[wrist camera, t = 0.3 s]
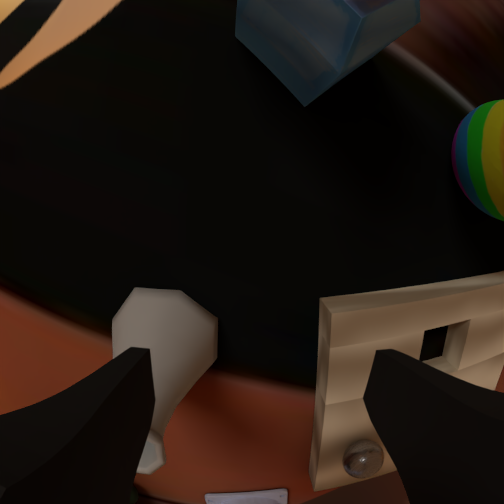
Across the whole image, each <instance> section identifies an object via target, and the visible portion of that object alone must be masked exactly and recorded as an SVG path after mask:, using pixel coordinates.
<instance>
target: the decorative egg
mask: <svg viewBox="0 0 504 504" xmlns="http://www.w3.org/2000/svg"><path fill="white" fill-rule="evenodd" d="M451 158H452V167H453V171H454V174H455V177H456V180H457V182H458V184H459V186H460V188H461V189H462V191H463V192H464V194H465V195H466V196H467V198H468V199H469V200H470V201H471V202H472V203H473V204H474V205H475V206H476V207H477V208H479V209H480V210H481V211H483V212H484V213H486V214H488V215H490V216H492V217H494V218H496V219H499V220H502V221H504V100H496V101H491V102H488V103H485V104H483V105H480V106H478V107H477V108H475V109H474V110H472V111H471V112H470V113H469V114H468V115H467V116H466V117H465V118H464V119H463V120H462V122H461V123H460V125H459V127H458V128H457V130H456V133H455V136H454V139H453V143H452V150H451Z"/></svg>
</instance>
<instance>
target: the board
mask: <svg viewBox="0 0 504 504" xmlns="http://www.w3.org/2000/svg"><path fill="white" fill-rule="evenodd" d="M446 325H449V326H448V331H447V336H446V341H445V345H444V349H443V354H442V356H440V357H437V358H433V359H430V360H426V361H423V362H424V363H426V364H428V365H430V366H432V367H434V368H436V369H438V370H441V371H443V372H445V373H447V374H449V375H452V376H454V377H456V378H459V379H461V380H464V381H466V382H469V383H472V384H474V385H477V386H480V387H484V388H487V389H490V390H495V387H496V385H497V382H498V379H499V376H500V374H501V371H502V368H503V365H504V271H501V272H496V273H490V274H485V275H479V276H474V277H468V278H462V279H456V280H450V281H444V282H438V283H431V284H425V285H418V286H411V287H404V288H397V289H390V290H383V291H375V292H367V293H359V294H351V295H342V296H333V297H324V298H320V307H319V341H318V364H317V382H316V397H315V411H314V423H313V435H312V445H311V455H310V464H309V476H310V479H311V483H312V486H313V490H314V492H315V491H320V490H325V489H330V488H335V487H339V486H343V485H348V484H352V483H355V482H359V481H363V480H367V479H370V478H374V477H377V476H380V475H384V474H387V473H390V472H393V471H396V470H397V468H396V466H395V465H394V463H393V461H392V459H391V457H390V456H389V454H388V452H387V450H386V448H385V446H384V445H383V443H382V441H381V439H380V437H379V436H378V434H377V432H376V430H375V428H374V426H373V424H372V422H371V420H370V418H369V415H368V412H367V410H366V407H365V404H364V401H363V396H364V392H365V389H366V385H367V382H368V379H369V375H370V371H371V368H372V364H373V360H374V356H375V352H376V350H382V349H394V350H397V351H400V352H402V353H404V354H407V355H409V356H411V357H413V358H415V359H417V360H419V357H420V352H421V347H422V342H423V336H424V331H425V330H429V329H434V328H438V327H442V326H446ZM359 440H372V441H375V442H377V443H378V444H379V445H380V446H381V447H382V449H383V451H384V462H383V465H382V467H381V468H380V470H379V471H378V472H377V473H375V474H374V475H372V476H370V477H367V478H354V477H352V476H350V475H349V474H347V473H346V471H345V470H344V468H343V464H342V458H343V455H344V452H345V451H346V449H347V448H348V447H349V446H350V445H351V444H353V443H354V442H357V441H359Z"/></svg>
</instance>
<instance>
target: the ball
mask: <svg viewBox="0 0 504 504" xmlns="http://www.w3.org/2000/svg"><path fill="white" fill-rule="evenodd" d="M383 462H384V451H383V449H382V447H381V446H380V445H379V444H378V443H377V442H375V441H372V440H359V441H357V442H354V443H353V444H351V445H350V446H349V447H348V448H347V449H346V451H345V452H344V455H343V458H342V464H343V468H344V470H345V471H346V473H347V474H349V475H350V476H352V477H354V478H367V477H370V476H372V475H374V474H375V473H377V472H378V471H379V470H380V468H381V467H382V465H383Z"/></svg>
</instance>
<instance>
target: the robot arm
mask: <svg viewBox="0 0 504 504" xmlns="http://www.w3.org/2000/svg"><path fill="white" fill-rule="evenodd" d="M155 401H156V398H155V391H154V382H153V373H152V364H151V354H150V348H139V347H130V348H128V349H127V350H125V351H124V352H122V353H121V354H119V355H118V356H117V357H115V358H114V359H112V360H111V361H109V362H108V363H107V364H105V365H104V366H102V367H101V368H99V369H98V370H96V371H95V372H93V373H92V374H90V375H89V376H87V377H86V378H84V379H82V380H81V381H79V382H77V383H76V384H74V385H72V386H71V387H69V388H67V389H65V390H64V391H62V392H60V393H58V394H56V395H54V396H52V397H50V398H47V399H45V400H43V401H41V402H38V403H36V404H33V405H30V406H27V407H25V408H22V409H19V410H15V411H12V412H9V413H6V414H2V415H0V504H129V503H130V496H131V490H132V486H133V482H134V478H135V475H136V472H137V469H138V465H139V462H140V459H141V456H142V453H143V450H144V447H145V444H146V440H147V437H148V434H149V431H150V428H151V424H152V418H153V413H154V407H155ZM363 401H364V404H365V407H366V410H367V412H368V415H369V418H370V420H371V422H372V424H373V426H374V428H375V430H376V432H377V434H378V436H379V437H380V439H381V441H382V443H383V445H384V446H385V448H386V450H387V452H388V454H389V456H390V457H391V459H392V461H393V463H394V465H395V466H396V468H397V471H398V472H399V475H400V477H401V479H402V482H403V485H404V488H405V490H406V493H407V496H408V498H409V502H410V504H504V393H502V392H498V391H494V390H490V389H487V388H484V387H480V386H477V385H474V384H472V383H469V382H466V381H464V380H461V379H459V378H456V377H454V376H452V375H449V374H447V373H445V372H443V371H441V370H438V369H436V368H434V367H432V366H430V365H428V364H426V363H424V362H422V361H420V360H417V359H415V358H413V357H411V356H409V355H407V354H404V353H402V352H400V351H397V350H394V349H382V350H376V352H375V356H374V360H373V364H372V368H371V371H370V375H369V379H368V382H367V385H366V389H365V392H364V396H363ZM287 497H288V492H287V489H284V488H283V489H274V490H265V491H254V492H240V493H214V494H206V495H205V500H206V503H207V504H287Z"/></svg>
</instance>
